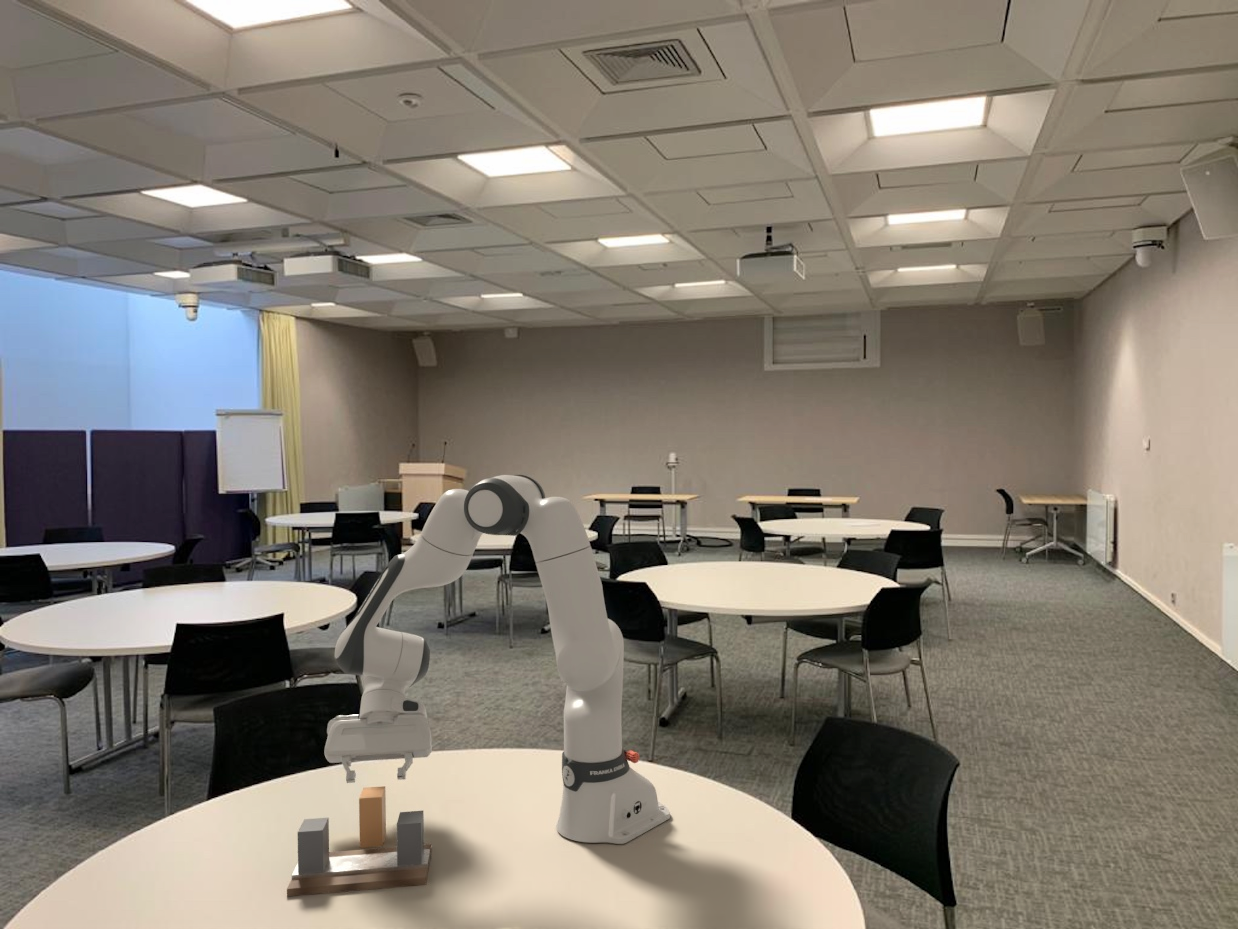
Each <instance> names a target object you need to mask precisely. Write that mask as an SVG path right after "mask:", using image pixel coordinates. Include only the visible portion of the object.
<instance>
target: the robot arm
mask: <svg viewBox="0 0 1238 929" xmlns="http://www.w3.org/2000/svg"><path fill="white" fill-rule="evenodd" d="M483 534H486V535H491V536H510V537H511V536H513V537H514V536H515V537H516V536H518V535H520V534H521V535H522V536H524V537H525V538H526V540H527V541H528V543H529V545H530V549H531V551H532V556H533V559H534V562H535V566H536V570H537V574H538V576H539V579H540V583H541V586H542V591H543V594H544V597H545V601H546V605H547V610H548V611H547V612H548V619H549V625H550V626H549V627H550V631H551V632H550V633H551V638H552V644H553V648H554V652H555V653H554V654H555V661H556V670H557V673H558V676H559V678H560V680H561V681H562V682H563V684H565V685H566V689H565V697H564V698H565V699H564V700H565V701H564V708H563V751H562V754H561V775H562V777H561V778H562V782H563V784H562V785H563V787H562V788H563V789H562V799H561V806H560V810H559V815H558V819H557V822H556V831H557V832H558V833H559V834H560V835H561V836H563V837H564V838H566V839H569V840H572V841H576V842H580V843H590V844H591V843H595V844H597V843H607V844H615V845H616V844H617V845H624V844H626V843H629V842H631V841H632V840H633V839H635V838H637V837H639V836H641V835H643V834H644V833H646V832H649V830H651V829H654V828H655V827H657V826H659V825H660V824H663V823H664V822H666V821H667V820H669V819H670V818H671V813H670V810H669V808H668V807H667V806H665V805H664V804H663V803H661V802H660V801H659V800H658V799H659V798H658V794H657V790H656V787H655V786H654V784H653V783H652V782H651V781H650V780H649V779H647V778H646V777H645V776H643V775H642V774H640V773H639V772H637V771H636V770H635V769H634V768H632V767H631V766H630V764H629V762H631V763H633V764H636V763H639V760H640V754H639V752H637V751H634V750H628V751H627V749H624V748H623V742H622V741H623V740H622V738H623V736H622V735H623V733H622V729H623V728H622V724H623V723H622V705H623V704H622V702H623V690H624V689H623V687H624V686H623V684H624V662H625V661H624V659H625V658H624V656H625V654H624V653H625V650H624V647H625V646H624V645H625V641H624V636H623V633H622V631H621V628H619V626H618V624H616V622H615V621H613V620H612V619H610V618H608V613H607V610H606V609H607V608H606V604H605V597H604V590H603V584H602V579H601V576H600V573H599V569H598V566H597V563H596V560H595V557H594V553H593V549H592V546H591V543H590V540H589V536H588V534H587V530H586V528H585V526H584V523H583V521H582V518H581V517H580V515H579V513H578V511H577V509H576V507H575V505H574V504H573V502H572V501H570V500H569V499H568V498H566V497H562V496H549V497H546V494H545V491H544V488H543V487H542V486H541V484H540V483H539V482H538V481H536V480H535V479H534V478H532V477H531V476H527V475H524V474H514V475H513V474H512V475H510V474H501V475H496V476H493V477H490V478H489V477H488V478H484V479H482V480H480V481H479V482H477V483H475V484H474V485H473V486H472V487H471V488H470V490H468V489H463V488H453V489H449V490H446V491H445V492H444V493H442V494H441V495H440V497H439V498H438V500H437V502H436V503H435V505H434V507H433V508H432V510H431V512H430V513H429V515H428V517H427V519H426V522H425V523H424V525H423V528H422V530H421V532H420V535H419V537H418V539H417V540H416V541H415V542H414V544H413V545H412V546H411V547H410V548H409V549H408V550H406V551H405V552H403V553H401V554H397V555H394V556H393V558H392V559H391V560H390V561H389V562H388V563H387V565H386V566H385V568H384V569H383V570H382V572H381V573H380V574H379V576H378V577H377V580H376V581H375V583H374V584H373V586H372V587H371V589H370V591H369V592H368V594H367V595H366V597H365V598H364V601H363V602H362V604H361V605H360V607H359V608H358V609H357V611H356V613H355V615H354V616H353V618H352V619H350V621H349V622H348V624H347V625H346V626H345V628H344V629H343V631H342V632H341V634H339V637H338V638H337V641H336V644H335V648H334V653H333V654H334V655H333V658H334V661H335V663H336V664H337V666H338V667H339V669H340V670H341V671H342V672H343V673H344V674H345V675H354V676H363V685H364V686H363V687H364V690H363V693H362V696H361V700H360V708H359V714H349V715H343V714H340V715H336V716H335V717H334V718H332V719H330V720H329V721H328V723H327V728H326V734H327V737H326V738H327V739H326V741H325V745H324V750H323V751H324V753H323V754H324V756H325V759H326V760H327V762H329V763H330V764H335V763H336V764H337V763H341V764H342V767H343V769H344V770H345V774H346V777H345V780H346V784H353V783H355V782H356V777H357V776H356V775H357V774H356V771H355V770H354V769H353V770H352V769H350V767H351V766H352V762H369V761H370V762H371V761H384V760H385V761H387V760H402V759H404V760H405V762H404V763H403V765H402V766H401V767H397V774H396V776H397V781H399V780H400V781H401V780H406V779H407V778H406V777H407V771H408V770H409V769H410V768H411V766H412V764H413V761H414V759H418V758H428V757H429V756H430V755H431V753H432V749H433V747H432V745H433V744H432V743H433V742H432V732H431V728H430V727H431V726H430V723H429V720H428V714H427V713H428V712H427V708H426V706H425V703H424V702H422V701H421V702H420V701H419V700H418V701H417V700H414V699H409V698H406V690H407V688H410V687H412V686H414V685H416V684H417V683H418V682H419V681H421V680H422V679H424V678H425V676H426V675H427V673H428V670H429V665H430V660H431V650H430V649H431V648H430V646H429V644H428V643H427V640H426V639H425V638H424V637H423V636H420V635H416V634H413V633H408V632H405V631H404V632H403V631H397V630H393V629H387V628H383V627H378V625H379V623H380V621H381V619H382V618H383V616H384V615H385V613H386V611H387V609H388V608H389V607H390V604H391V603H392V601H394V599H395V598H396V597H397V596H400V595H401V594H402V593H406V592H409V591H412V590H417V589H418V590H419V589H424V588H436V587H437V588H438V587H443V586H446V585H448V584H452V583H454V582H455V581H457V580H458V579H459V578H461V577H462V576H463V574H464V573H465V572H466V571H467V568H468V567H469V565H470V564H471V560H472V558H473V555H474V553H475V550H476V549H477V546H478V543H479V541H480V539H481V537H482V535H483Z"/></svg>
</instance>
